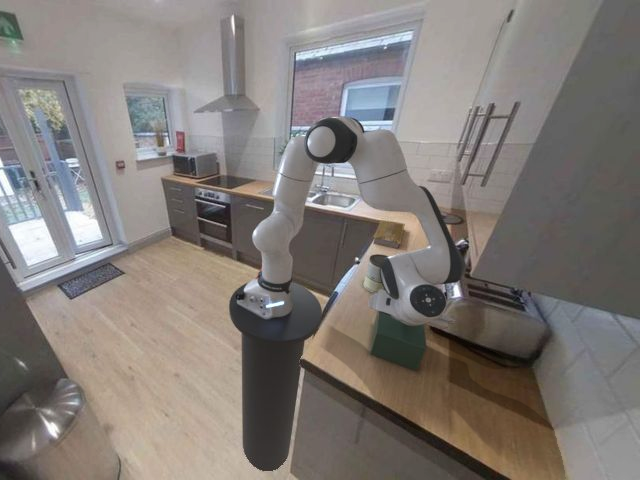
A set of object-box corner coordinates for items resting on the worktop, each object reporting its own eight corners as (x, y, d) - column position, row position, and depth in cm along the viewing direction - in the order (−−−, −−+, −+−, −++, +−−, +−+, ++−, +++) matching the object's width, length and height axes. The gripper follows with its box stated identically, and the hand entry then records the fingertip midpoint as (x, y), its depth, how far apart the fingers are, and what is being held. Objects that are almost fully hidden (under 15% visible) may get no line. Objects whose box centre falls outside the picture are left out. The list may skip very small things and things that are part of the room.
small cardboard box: (379, 224, 178) (381, 216, 175) (403, 228, 171) (406, 220, 168) (371, 243, 152) (373, 233, 149) (399, 249, 145) (402, 239, 142)
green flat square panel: (379, 304, 89) (379, 302, 88) (422, 316, 83) (422, 314, 83) (376, 333, 77) (377, 331, 77) (425, 350, 72) (426, 348, 72)
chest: (373, 326, 92) (378, 307, 88) (413, 339, 86) (421, 319, 83) (370, 354, 81) (376, 333, 77) (416, 371, 76) (425, 350, 72)
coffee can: (363, 278, 119) (369, 252, 113) (387, 283, 115) (396, 256, 109) (362, 291, 111) (369, 263, 104) (389, 297, 107) (398, 268, 101)
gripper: (459, 309, 66) (441, 315, 78) (373, 287, 75) (369, 295, 87) (456, 333, 65) (438, 335, 77) (369, 308, 74) (365, 313, 86)
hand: (401, 314), depth 82 cm, fingers closed
